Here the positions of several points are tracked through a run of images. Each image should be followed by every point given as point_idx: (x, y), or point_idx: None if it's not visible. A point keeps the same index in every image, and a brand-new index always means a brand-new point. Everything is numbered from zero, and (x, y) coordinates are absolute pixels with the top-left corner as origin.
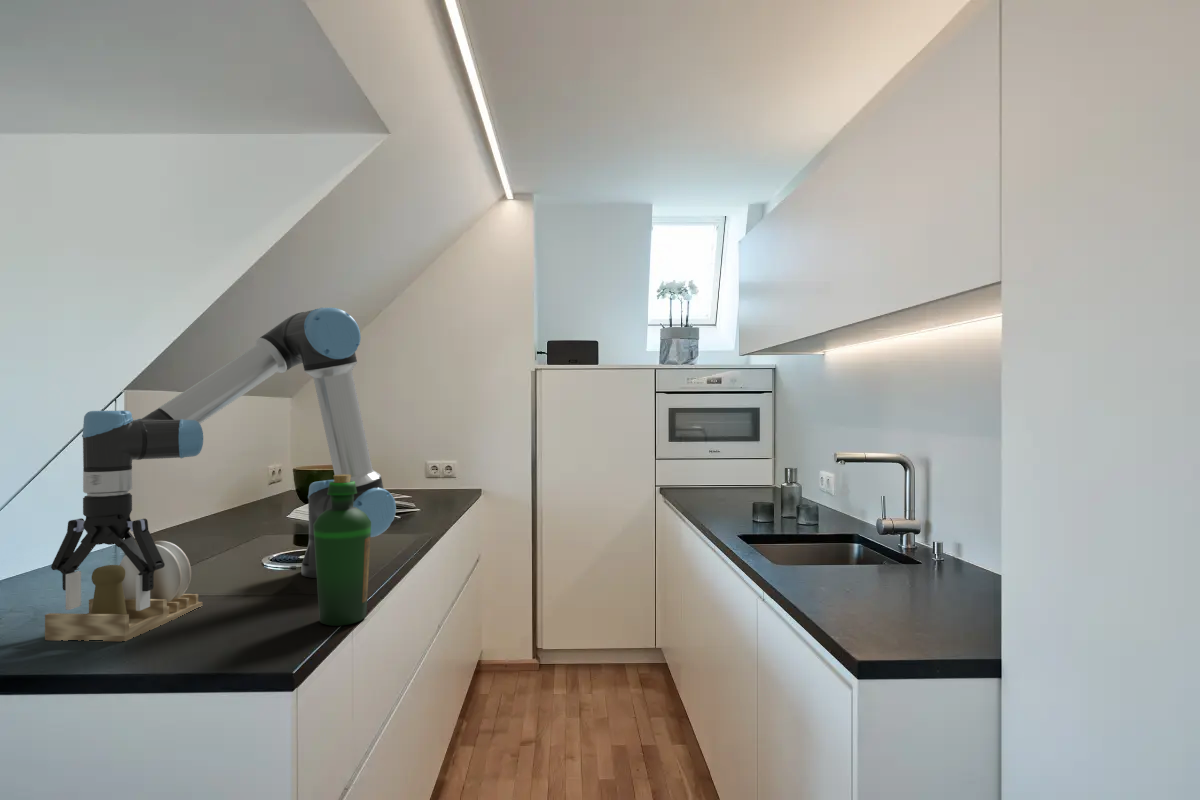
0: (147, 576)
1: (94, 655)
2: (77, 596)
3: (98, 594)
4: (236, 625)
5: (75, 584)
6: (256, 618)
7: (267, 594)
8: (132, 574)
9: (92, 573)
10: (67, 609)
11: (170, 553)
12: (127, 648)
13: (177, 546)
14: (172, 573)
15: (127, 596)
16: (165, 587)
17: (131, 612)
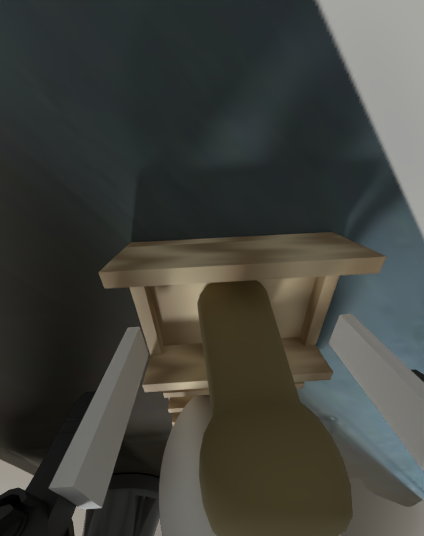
0: (38, 477)
1: (98, 122)
2: (352, 361)
3: (258, 356)
4: (9, 347)
5: (393, 401)
6: (20, 375)
7: (129, 438)
8: None
9: (340, 476)
10: (346, 314)
11: None
12: (69, 195)
13: None
14: (178, 481)
15: None
16: (198, 432)
17: None
